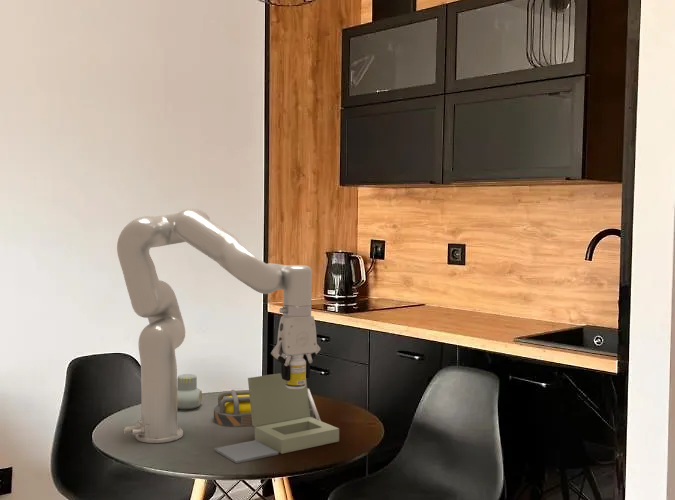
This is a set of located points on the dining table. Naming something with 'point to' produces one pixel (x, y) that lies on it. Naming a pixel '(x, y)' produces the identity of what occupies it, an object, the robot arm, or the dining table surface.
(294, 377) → the supplement bottle
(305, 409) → the equipment case
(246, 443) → the slate pad
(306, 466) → the dining table surface
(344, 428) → the dining table surface
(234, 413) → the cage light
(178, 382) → the air freshener
